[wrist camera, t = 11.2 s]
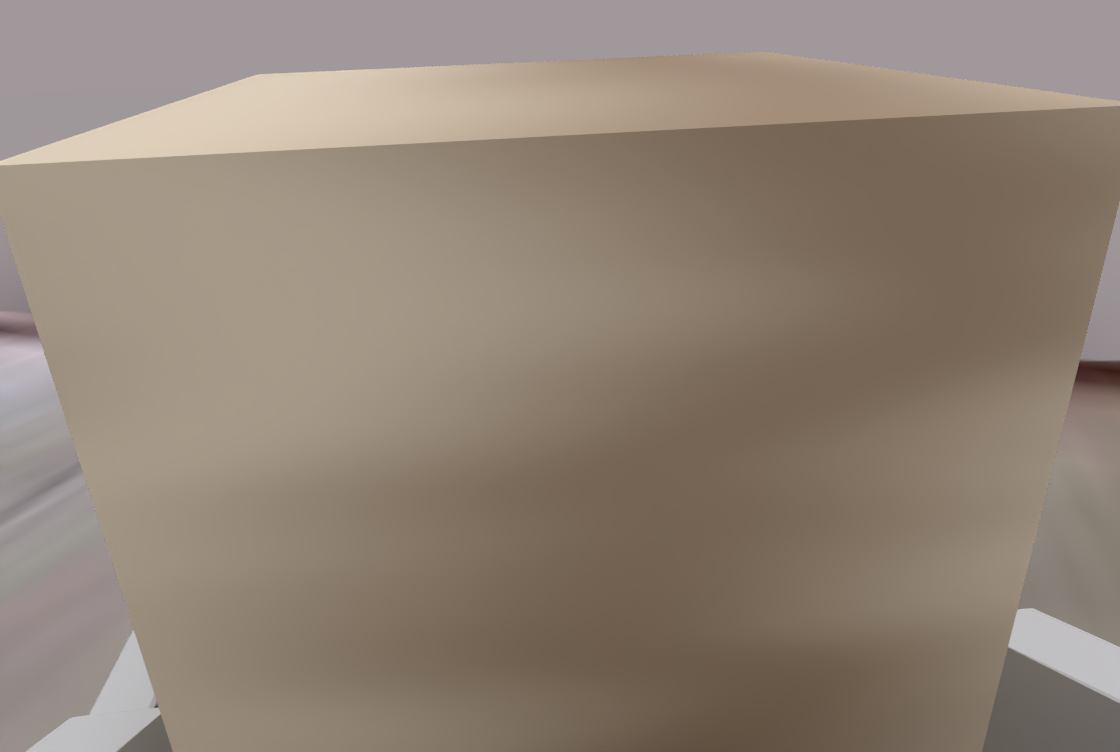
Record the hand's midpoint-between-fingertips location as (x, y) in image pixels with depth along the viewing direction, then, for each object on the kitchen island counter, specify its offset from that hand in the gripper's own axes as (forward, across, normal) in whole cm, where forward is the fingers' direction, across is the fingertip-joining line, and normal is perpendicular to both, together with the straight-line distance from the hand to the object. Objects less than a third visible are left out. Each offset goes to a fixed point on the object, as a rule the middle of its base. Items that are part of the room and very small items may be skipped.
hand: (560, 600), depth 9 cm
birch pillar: (-1, 0, -7) cm, 7 cm away
